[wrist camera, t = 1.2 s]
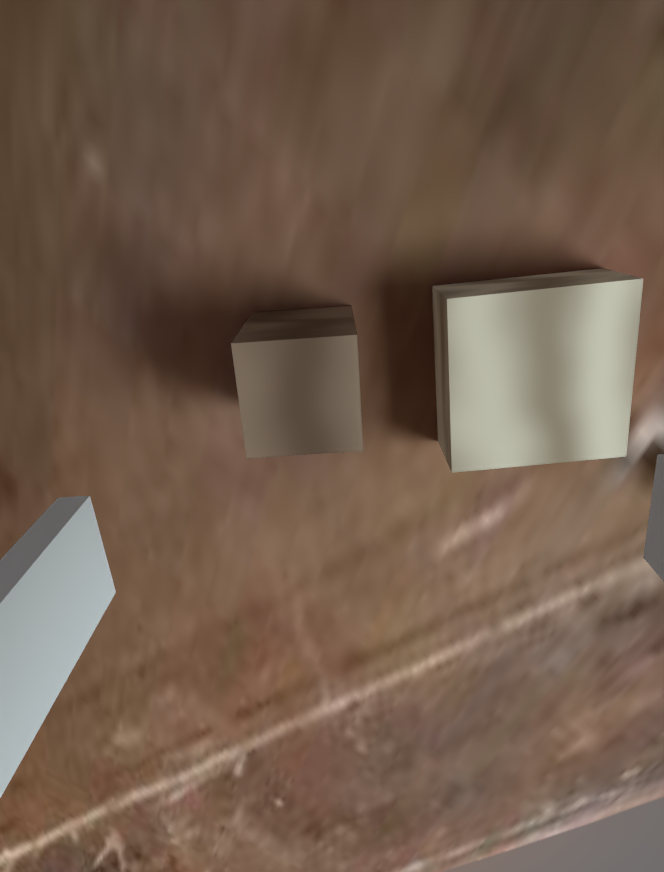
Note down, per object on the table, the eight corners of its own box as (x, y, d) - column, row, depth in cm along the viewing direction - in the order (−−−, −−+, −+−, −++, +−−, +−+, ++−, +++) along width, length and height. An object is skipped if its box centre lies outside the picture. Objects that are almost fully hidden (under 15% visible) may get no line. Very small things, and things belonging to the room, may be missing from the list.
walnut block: (263, 406, 37) (246, 458, 30) (251, 312, 35) (230, 343, 28) (356, 400, 37) (363, 450, 30) (351, 305, 35) (357, 334, 28)
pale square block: (437, 439, 39) (451, 472, 34) (431, 285, 35) (447, 298, 30) (590, 424, 38) (626, 456, 34) (601, 267, 34) (643, 278, 30)
